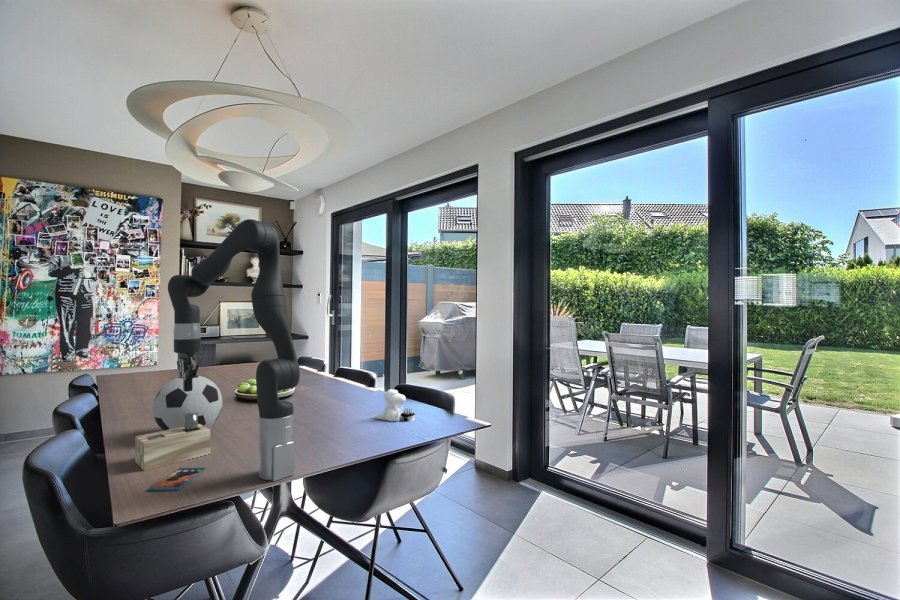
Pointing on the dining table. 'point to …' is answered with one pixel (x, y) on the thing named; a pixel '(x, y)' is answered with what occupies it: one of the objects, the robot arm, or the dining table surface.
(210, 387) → the soccer ball
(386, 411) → the figurine
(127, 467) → the dining table surface
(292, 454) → the robot arm
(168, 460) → the birch block
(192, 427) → the inner peg
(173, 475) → the smartphone
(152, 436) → the outer peg
